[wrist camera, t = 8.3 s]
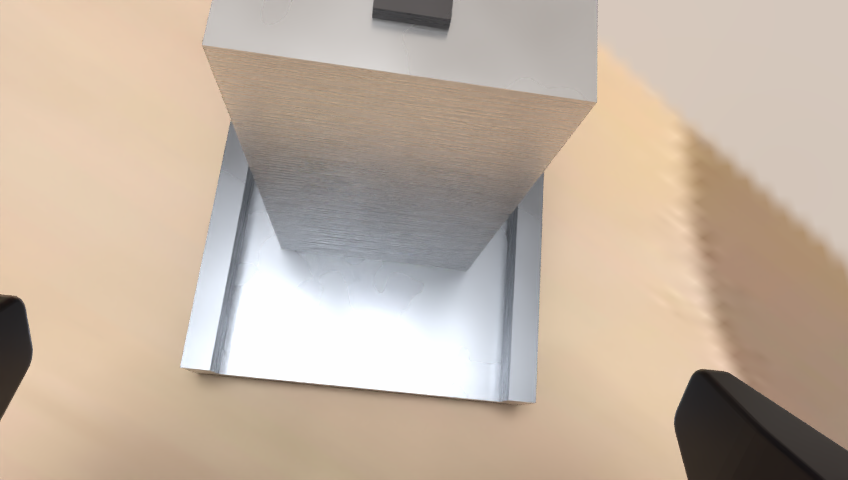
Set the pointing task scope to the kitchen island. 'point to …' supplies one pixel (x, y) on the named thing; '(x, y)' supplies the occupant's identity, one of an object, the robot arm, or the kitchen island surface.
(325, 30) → the block
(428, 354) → the cradle
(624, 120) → the kitchen island surface
